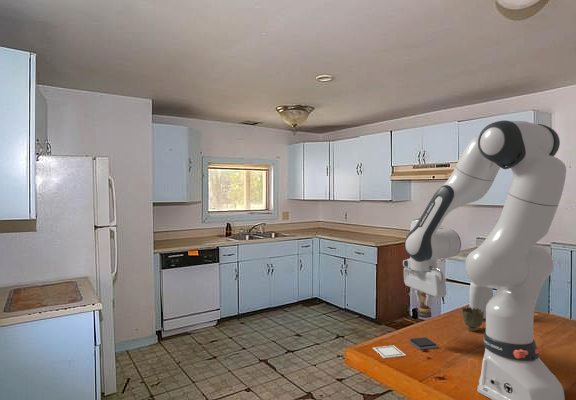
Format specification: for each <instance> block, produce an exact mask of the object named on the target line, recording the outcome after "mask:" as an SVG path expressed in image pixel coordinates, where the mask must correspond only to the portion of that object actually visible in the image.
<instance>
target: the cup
mask: <svg viewBox="0 0 576 400" xmlns="http://www.w3.org/2000/svg"><path fill="white" fill-rule="evenodd" d="M461 311H462V318H463V322H464V324H465V325H466V326H467V329H468V331H470V332H477V331H479V328H480V327H481V326H482V324H483V320H484V319H483V314H484V311H483V312H481V309H480V310H479V308H476V309H475V308H473V310H472V308H471V307H470V306H469V307H468V306H467V307H462V309H461Z"/></svg>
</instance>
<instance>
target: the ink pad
mask: <svg viewBox="0 0 576 400" xmlns="http://www.w3.org/2000/svg"><path fill="white" fill-rule="evenodd" d="M408 342H409V343H410V344H411V345H412V346H414V347H416V348H417V349H418V350H420V351H422V350H430V349H438V348H439V345H438V344H437V343H435V342H434V341H432V340H431V339H429V338H428V337H427V336H426V337H417V338H414V337H413V338H409V339H408Z"/></svg>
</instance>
